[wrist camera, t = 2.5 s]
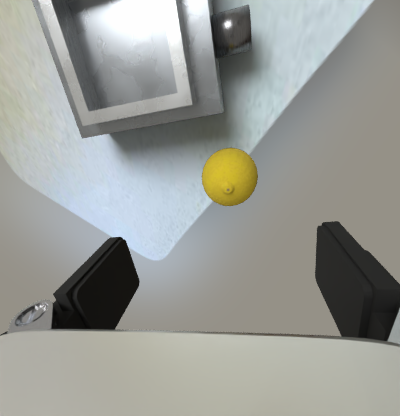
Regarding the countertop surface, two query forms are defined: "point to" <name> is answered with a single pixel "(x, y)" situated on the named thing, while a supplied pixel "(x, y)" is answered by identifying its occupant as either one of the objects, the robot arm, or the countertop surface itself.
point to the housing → (141, 58)
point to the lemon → (229, 176)
